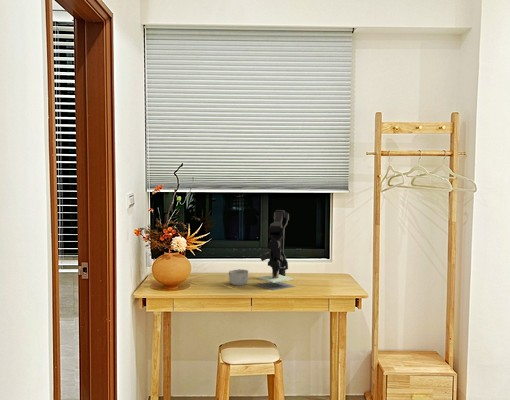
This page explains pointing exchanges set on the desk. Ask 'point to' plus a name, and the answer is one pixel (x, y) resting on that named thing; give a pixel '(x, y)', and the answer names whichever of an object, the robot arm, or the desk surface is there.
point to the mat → (275, 285)
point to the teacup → (238, 277)
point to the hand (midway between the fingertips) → (275, 276)
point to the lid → (275, 278)
